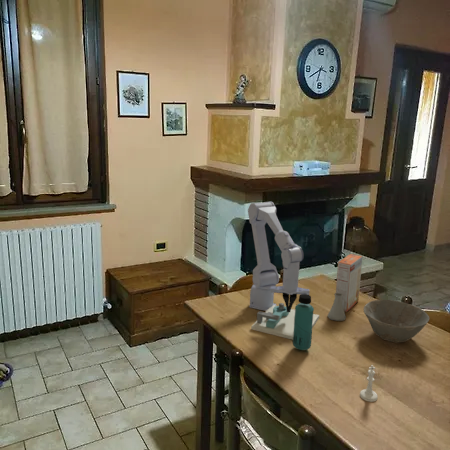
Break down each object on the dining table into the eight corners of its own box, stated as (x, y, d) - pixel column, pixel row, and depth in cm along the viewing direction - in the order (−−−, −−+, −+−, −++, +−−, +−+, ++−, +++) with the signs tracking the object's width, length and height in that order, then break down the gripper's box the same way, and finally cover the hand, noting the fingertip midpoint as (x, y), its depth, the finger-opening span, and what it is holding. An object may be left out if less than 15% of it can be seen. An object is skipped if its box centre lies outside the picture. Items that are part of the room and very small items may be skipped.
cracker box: (345, 297, 196) (349, 253, 191) (358, 301, 193) (363, 255, 188) (333, 308, 185) (337, 261, 180) (347, 312, 182) (351, 264, 177)
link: (276, 308, 181) (276, 304, 180) (290, 311, 178) (290, 307, 178) (262, 325, 166) (262, 321, 165) (277, 329, 163) (277, 325, 163)
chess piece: (357, 391, 130) (360, 361, 128) (373, 390, 131) (377, 360, 128) (363, 402, 126) (367, 370, 123) (380, 401, 126) (384, 370, 123)
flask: (344, 314, 181) (346, 291, 178) (347, 322, 174) (349, 298, 171) (326, 312, 181) (328, 290, 179) (328, 320, 174) (330, 297, 172)
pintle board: (251, 329, 166) (251, 316, 165) (272, 307, 185) (272, 295, 184) (302, 342, 157) (303, 328, 156) (319, 317, 177) (320, 305, 175)
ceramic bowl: (426, 330, 169) (429, 306, 166) (424, 359, 148) (428, 332, 146) (365, 318, 177) (368, 295, 175) (356, 344, 157) (359, 318, 155)
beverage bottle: (312, 346, 155) (316, 293, 150) (309, 356, 149) (313, 300, 144) (293, 343, 157) (297, 290, 152) (290, 352, 151) (293, 297, 146)
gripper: (271, 280, 164) (269, 314, 167) (310, 283, 162) (308, 317, 166) (271, 273, 171) (269, 306, 174) (309, 276, 169) (307, 308, 173)
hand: (288, 310), depth 170 cm, fingers closed
